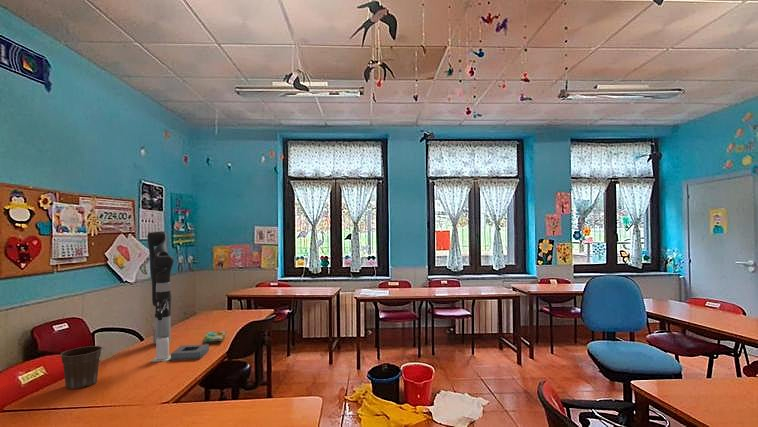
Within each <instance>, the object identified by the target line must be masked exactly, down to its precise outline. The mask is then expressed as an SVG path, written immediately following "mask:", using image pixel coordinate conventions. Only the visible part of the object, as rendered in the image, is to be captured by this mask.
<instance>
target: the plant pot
mask: <svg viewBox="0 0 758 427" xmlns="http://www.w3.org/2000/svg"><path fill="white" fill-rule="evenodd" d="M102 350H103V347H102V346H98V345H89V346H82V347H76V348H72V349H69V350H65V351H62V352H61V353H60V354H59V356H60V357H61V364H62V366H63V374H64V382H65V388H66V389H67V390H78V389H83V388H85V387H90V386H92V385H94V384H96V383H97V382H98V376H99V364H100V357H101V355H102V353H101V352H102Z"/></svg>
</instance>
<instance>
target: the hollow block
mask: <svg viewBox="0 0 758 427" xmlns="http://www.w3.org/2000/svg"><path fill="white" fill-rule="evenodd" d="M209 351H210V343H209V344H205V343H204V344H189V345H188V344H186V345H185V344H184V345H180V346H179V347H177V349H175V350H174V351H172V352H171V353H170V356H171V359H170V361H172V362H174V361H175V362H176V361H188V360H189V361H190V360H191V361H192V360H201V359H202V358H203V357H204V356H205V355H206V354H207V353H208V352H209Z"/></svg>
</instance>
